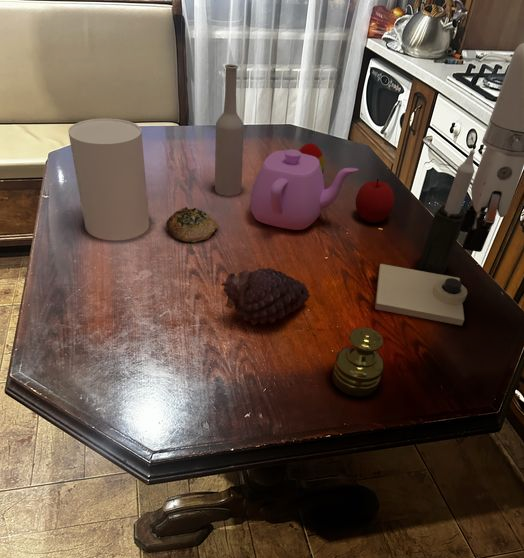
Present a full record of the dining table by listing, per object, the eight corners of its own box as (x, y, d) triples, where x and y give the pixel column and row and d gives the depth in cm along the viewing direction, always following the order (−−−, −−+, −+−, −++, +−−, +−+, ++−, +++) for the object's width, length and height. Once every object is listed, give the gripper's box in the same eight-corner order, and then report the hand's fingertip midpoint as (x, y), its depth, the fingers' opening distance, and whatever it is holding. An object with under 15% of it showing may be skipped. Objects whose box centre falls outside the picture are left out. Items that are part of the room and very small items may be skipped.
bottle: (244, 194, 127) (250, 69, 108) (218, 197, 125) (220, 70, 106) (236, 183, 131) (241, 61, 112) (211, 185, 129) (212, 61, 110)
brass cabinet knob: (381, 399, 79) (397, 351, 72) (333, 396, 79) (345, 348, 72) (374, 366, 84) (389, 318, 77) (329, 363, 84) (340, 315, 77)
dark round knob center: (458, 287, 98) (461, 279, 97) (459, 296, 96) (462, 288, 95) (442, 284, 99) (445, 276, 98) (443, 293, 97) (445, 285, 95)
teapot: (234, 232, 113) (237, 165, 103) (263, 193, 128) (268, 131, 118) (335, 255, 109) (348, 188, 99) (352, 212, 124) (365, 150, 114)
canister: (145, 207, 118) (137, 117, 105) (153, 237, 109) (145, 142, 95) (83, 211, 115) (67, 119, 101) (87, 243, 105) (69, 145, 92)
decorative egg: (292, 173, 138) (297, 136, 131) (322, 177, 137) (328, 140, 131) (289, 186, 132) (293, 147, 125) (320, 190, 131) (326, 152, 125)
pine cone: (289, 285, 99) (318, 260, 91) (300, 333, 96) (331, 311, 88) (206, 280, 90) (230, 252, 82) (215, 333, 87) (241, 309, 79)
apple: (396, 227, 120) (407, 186, 113) (360, 228, 118) (369, 187, 111) (381, 208, 127) (391, 168, 120) (347, 209, 125) (354, 169, 118)
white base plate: (459, 284, 104) (464, 271, 102) (464, 326, 94) (470, 313, 92) (378, 269, 106) (382, 256, 104) (374, 309, 96) (378, 296, 94)
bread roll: (166, 216, 115) (168, 196, 112) (215, 223, 118) (218, 203, 114) (164, 244, 108) (166, 223, 104) (216, 250, 110) (220, 230, 107)
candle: (415, 270, 107) (454, 150, 90) (424, 259, 110) (463, 142, 93) (438, 279, 105) (482, 158, 88) (447, 268, 108) (491, 150, 91)
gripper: (546, 161, 71) (497, 270, 84) (527, 122, 84) (486, 221, 96) (491, 153, 72) (450, 262, 85) (480, 115, 85) (446, 215, 97)
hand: (470, 239), depth 90 cm, fingers open, 5 cm apart
